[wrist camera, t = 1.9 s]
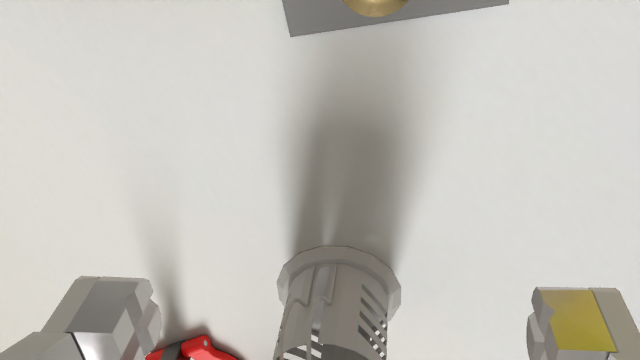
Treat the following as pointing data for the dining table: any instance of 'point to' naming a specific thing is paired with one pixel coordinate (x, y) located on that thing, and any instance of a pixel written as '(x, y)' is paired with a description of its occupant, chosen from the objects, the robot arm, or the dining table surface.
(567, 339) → the robot arm
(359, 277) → the french press
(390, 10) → the pin
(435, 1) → the mat
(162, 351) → the tow hook
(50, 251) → the dining table surface
